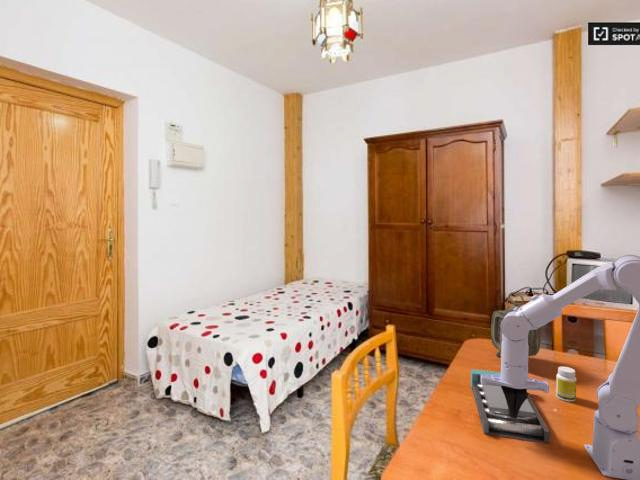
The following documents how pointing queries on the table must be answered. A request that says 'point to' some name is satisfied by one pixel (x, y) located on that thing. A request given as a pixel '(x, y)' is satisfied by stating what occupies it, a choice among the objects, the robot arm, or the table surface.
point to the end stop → (477, 375)
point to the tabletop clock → (496, 333)
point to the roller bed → (504, 434)
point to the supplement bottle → (566, 384)
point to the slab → (503, 402)
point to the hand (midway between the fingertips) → (512, 415)
